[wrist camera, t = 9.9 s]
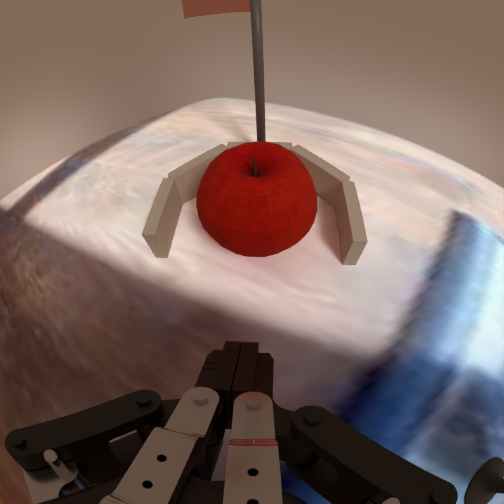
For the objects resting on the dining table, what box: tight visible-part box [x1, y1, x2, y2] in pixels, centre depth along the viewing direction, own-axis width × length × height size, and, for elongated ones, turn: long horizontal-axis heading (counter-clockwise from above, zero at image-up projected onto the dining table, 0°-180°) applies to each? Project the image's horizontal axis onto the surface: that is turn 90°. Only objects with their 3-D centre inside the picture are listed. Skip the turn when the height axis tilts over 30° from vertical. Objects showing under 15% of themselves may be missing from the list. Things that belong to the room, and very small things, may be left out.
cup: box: [142, 0, 367, 265], centre depth 15 cm, size 13×15×18 cm
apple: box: [196, 141, 317, 257], centre depth 18 cm, size 8×8×7 cm
